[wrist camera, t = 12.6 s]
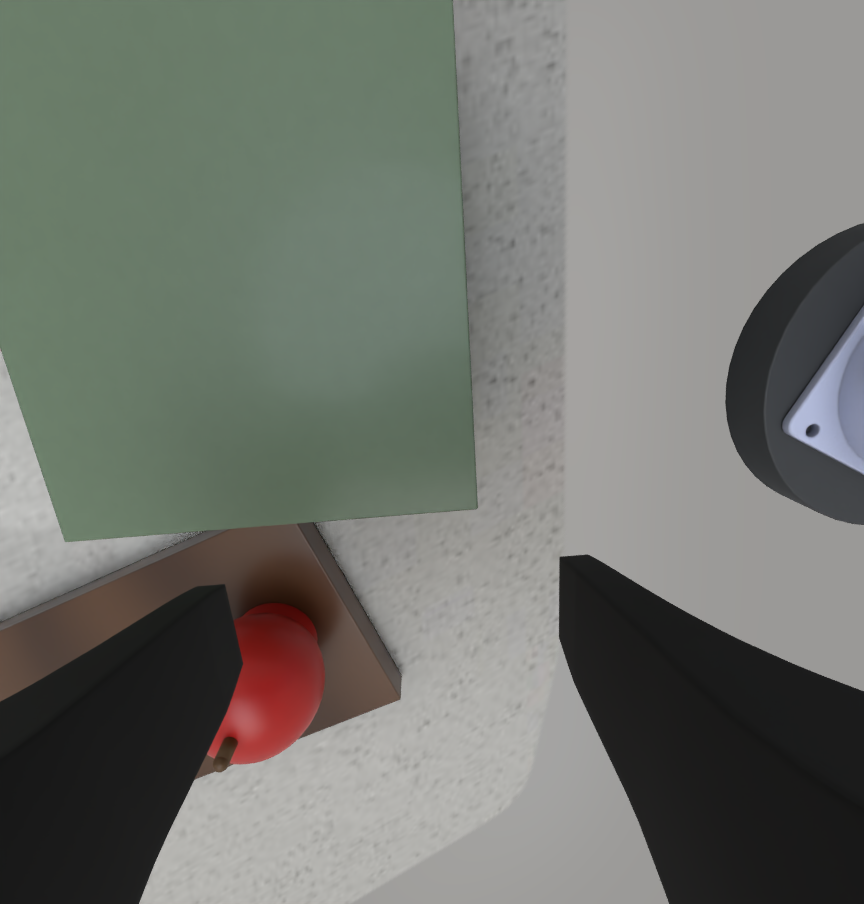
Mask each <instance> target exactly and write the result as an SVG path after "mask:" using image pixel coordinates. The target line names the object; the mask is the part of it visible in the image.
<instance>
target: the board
mask: <svg viewBox="0 0 864 904" xmlns="http://www.w3.org/2000/svg"><path fill="white" fill-rule="evenodd" d="M219 584H225V586H226V591H227V595H228V599H229V604H230V608H231V612H232V617H233V620H235V619H237V618H240V617H242V616H243V615H244V614H245V613H246V612H248V611H249V610H251V609H252V608H254V607H256V606H259V605H262V604H267V603H282V604H287V605H290V606H293V607H295V608H297V609H299V610H300V611H302V612H303V613H304V614H306V615H307V616H308V617H309V619H310V620H311V621H312V623H313V625H314V627H315V629H316V632H317V639H318V640H317V644H318V646H319V648H320V651H321V653H322V657H323V661H324V667H325V685H324V691H323V696H322V700H321V702H320V705H319V708H318V710H317V713H316V714H315V716H314V718H313V720H312V722H311V723H310V725H309V726H308V728H307V729H306V730H305V731H304V733H303V734H302V735H301V736H300V737H299V738H298V739H300V738H302V737H305V736H307V735H310V734H313V733H315V732H318V731H320V730H323V729H325V728H328V727H331V726H333V725H336V724H338V723H341V722H343V721H346V720H348V719H351V718H354V717H356V716H359V715H361V714H364V713H366V712H369V711H372V710H374V709H377V708H379V707H382V706H384V705H387V704H390V703H392V702H395V701H397V700H400V698H401V678H402V676H401V674H400V672H399V671H398V669H397V667H396V665H395V664H394V662H393V660H392V659H391V657H390V655H389V653H388V652H387V650H386V648H385V646H384V645H383V643H382V641H381V640H380V638H379V636H378V634H377V633H376V631H375V629H374V627H373V626H372V624H371V622H370V620H369V619H368V617H367V615H366V614H365V612H364V610H363V608H362V607H361V605H360V603H359V601H358V600H357V598H356V596H355V595H354V593H353V591H352V589H351V588H350V586H349V584H348V582H347V581H346V579H345V577H344V575H343V574H342V572H341V570H340V569H339V567H338V565H337V563H336V562H335V560H334V558H333V556H332V555H331V553H330V551H329V550H328V548H327V546H326V544H325V543H324V541H323V539H322V537H321V536H320V534H319V532H318V530H317V529H316V527H315V525H314V524H313V522H310V523H297V524H285V525H272V526H260V527H247V528H235V529H223V530H210V531H205V532H203V533H201V534H199V535H196V536H194V537H192V538H190V539H187V540H185V541H183V542H181V543H178V544H176V545H174V546H172V547H169V548H167V549H165V550H163V551H160V552H158V553H156V554H154V555H151V556H149V557H147V558H145V559H142V560H140V561H138V562H136V563H133V564H131V565H129V566H127V567H124V568H122V569H120V570H118V571H115V572H113V573H111V574H109V575H106V576H104V577H102V578H100V579H97V580H95V581H93V582H91V583H88V584H86V585H84V586H82V587H79V588H77V589H75V590H73V591H71V592H68V593H66V594H64V595H62V596H59V597H57V598H55V599H53V600H50V601H48V602H46V603H44V604H41V605H39V606H37V607H35V608H32V609H30V610H28V611H26V612H23V613H21V614H19V615H17V616H14V617H12V618H10V619H8V620H5V621H3V622H1V623H0V702H1V701H2V700H4V699H6V698H8V697H10V696H12V695H14V694H15V693H17V692H19V691H21V690H23V689H24V688H26V687H28V686H30V685H32V684H33V683H35V682H37V681H38V680H40V679H42V678H44V677H45V676H47V675H49V674H50V673H52V672H54V671H55V670H57V669H59V668H61V667H62V666H64V665H66V664H67V663H69V662H71V661H72V660H74V659H76V658H77V657H79V656H81V655H83V654H84V653H86V652H88V651H89V650H91V649H93V648H94V647H96V646H98V645H99V644H101V643H103V642H104V641H106V640H107V639H109V638H111V637H112V636H114V635H115V634H117V633H119V632H120V631H122V630H123V629H125V628H127V627H128V626H130V625H131V624H133V623H135V622H136V621H138V620H139V619H141V618H143V617H144V616H146V615H147V614H149V613H151V612H152V611H154V610H156V609H157V608H159V607H160V606H162V605H164V604H165V603H167V602H169V601H170V600H172V599H174V598H175V597H177V596H179V595H181V594H183V593H184V592H186V591H188V590H190V589H192V588H194V587H196V586H207V585H219ZM213 761H214V758H212V757H210V756H209V755H206V757H205V759H204V761H203V763H202V765H201V767H200V769H199V771H198V773H197V775H196V777H195V779H197V778H200V777H202V776H205V775H207V774H210V773H213V772H215V770H214V769H213ZM231 765H233V764H231V763H229V766H231ZM195 779H194V780H195Z"/></svg>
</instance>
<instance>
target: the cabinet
mask: <svg viewBox="0 0 864 904" xmlns="http://www.w3.org/2000/svg"><path fill="white" fill-rule="evenodd" d="M0 348H1V351H2V354H3V357H4V360H5V363H6V366H7V369H8V372H9V375H10V378H11V381H12V384H13V387H14V390H15V393H16V396H17V399H18V402H19V405H20V408H21V411H22V414H23V417H24V420H25V423H26V426H27V429H28V432H29V435H30V438H31V441H32V444H33V447H34V450H35V453H36V456H37V459H38V462H39V465H40V468H41V471H42V474H43V477H44V480H45V483H46V486H47V489H48V492H49V495H50V498H51V501H52V504H53V507H54V510H55V513H56V516H57V519H58V522H59V525H60V528H61V531H62V534H63V537H64V540H65V542H73V541H85V540H98V539H110V538H123V537H135V536H148V535H160V534H173V533H185V532H198V531H210V530H223V529H235V528H247V527H260V526H272V525H285V524H297V523H310V522H322V521H335V520H347V519H360V518H372V517H385V516H397V515H410V514H422V513H435V512H447V511H459V510H472V509H477V508H478V503H477V483H476V462H475V442H474V421H473V401H472V381H471V360H470V340H469V320H468V299H467V279H466V259H465V238H464V218H463V198H462V177H461V157H460V136H459V116H458V96H457V75H456V55H455V35H454V14H453V0H0Z"/></svg>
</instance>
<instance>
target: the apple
mask: <svg viewBox="0 0 864 904" xmlns="http://www.w3.org/2000/svg"><path fill="white" fill-rule="evenodd" d="M233 621H234V625H235V630H236V634H237V638H238V643H239V647H240V651H241V656H242V660H243V666H242V669H241V672H240V675H239V678H238V682H237V685H236V688H235V691H234V694H233V696H232V699H231V702H230V705H229V708H228V710H227V713H226V715H225V717H224V719H223V721H222V724H221V726H220V728H219V730H218V732H217V734H216V736H215V738H214V740H213V742H212V744H211V746H210V749H209V751H208V753H207V755H209V756H210V757H212V758H214V761H213V769H214V770H215V771H216V772H223V771H224V770H226V769H227V767H228V766H229V763H231V764H250V763H256V762H260V761H263V760H266V759H269V758H271V757H273V756H275V755H277V754H279V753H281V752H282V751H283V750H285V749H286V748H288V747H289V746H291V745H292V744H293V743H294V742H295V741H296V740H297V739H298V738H299V737H300V736H301V735H302V734H303V733H304V731H305V730H306V729H307V728H308V726H309V725H310V723H311V722H312V720H313V718H314V716H315V714H316V713H317V710H318V708H319V705H320V702H321V700H322V696H323V691H324V685H325V667H324V661H323V657H322V653H321V651H320V648H319V646H318V644H317V640H318V639H317V632H316V629H315V627H314V625H313V623H312V621H311V620H310V619H309V617H308V616H307V615H306V614H304V613H303V612H302V611H300V610H299V609H297V608H295V607H293V606H290V605H287V604H282V603H267V604H262V605H259V606H256V607H254V608H252V609H251V610H249V611H248V612H246V613H245V614H244V615H243V616H242V617H240V618H237V619H235V620H233Z"/></svg>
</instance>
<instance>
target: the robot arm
mask: <svg viewBox="0 0 864 904" xmlns="http://www.w3.org/2000/svg"><path fill="white" fill-rule="evenodd" d="M810 425H811V429H810V431H809V432H808V433H807V434H806V429H807V427H809V426H810ZM782 428H783V431H784V432H785V433H786V434H787V435H789V436H791V437H793V438H794V439H796V440H798V441H800V442H802V443H804V444H806V445H808V446H810V447H811V448H813V449H815V450H817V451H819V452H821V453H823V454H825V455H827V456H828V457H830V458H832V459H834V460H836V461H838V462H840V463H842V464H844V465H845V466H847V467H849V468H851V469H853V470H855V471H857V472H859V473H860V474H862V475H864V305H863V307H862V308H861V310H860V311H859V312H858V314H857V315H856V317H855V318H854V320H853V321H852V322H851V324H850V325H849V327H848V328H847V330H846V331H845V332H844V334H843V335H842V337H841V338H840V340H839V341H838V342H837V344H836V345H835V347H834V348H833V350H832V351H831V352H830V354H829V355H828V357H827V358H826V360H825V361H824V362H823V364H822V365H821V367H820V368H819V370H818V371H817V372H816V374H815V375H814V377H813V378H812V380H811V381H810V382H809V384H808V385H807V387H806V388H805V390H804V391H803V392H802V394H801V395H800V397H799V398H798V400H797V401H796V402H795V404H794V405H793V407H792V408H791V410H790V411H789V412H788V414H787V415H786V417H785V418H784V420H783V423H782ZM559 639H560V642H561V645H562V648H563V651H564V654H565V657H566V660H567V663H568V666H569V669H570V672H571V675H572V678H573V681H574V683H575V685H576V688H577V690H578V692H579V694H580V696H581V699H582V700H583V703H584V705H585V707H586V709H587V711H588V714H589V716H590V718H591V720H592V722H593V724H594V726H595V728H596V730H597V732H598V735H599V737H600V739H601V741H602V743H603V745H604V747H605V749H606V752H607V754H608V756H609V758H610V760H611V762H612V764H613V766H614V768H615V770H616V773H617V775H618V776H619V779H620V781H621V783H622V785H623V787H624V789H625V792H626V794H627V796H628V798H629V801H630V803H631V805H632V807H633V810H634V812H635V814H636V817H637V819H638V821H639V824H640V826H641V829H642V832H643V834H644V837H645V840H646V842H647V845H648V848H649V850H650V853H651V856H652V858H653V861H654V864H655V866H656V869H657V872H658V874H659V877H660V880H661V882H662V885H663V888H664V890H665V893H666V896H667V898H668V902H669V904H864V691H861V690H859V689H856V688H853V687H851V686H848V685H845V684H843V683H840V682H837V681H835V680H832V679H829V678H827V677H824V676H822V675H819V674H817V673H814V672H811V671H809V670H807V669H804V668H802V667H799V666H797V665H795V664H792V663H790V662H788V661H785V660H783V659H781V658H779V657H777V656H774V655H772V654H770V653H767V652H765V651H763V650H761V649H759V648H757V647H754V646H752V645H750V644H748V643H745V642H743V641H741V640H739V639H737V638H735V637H733V636H731V635H729V634H727V633H725V632H723V631H721V630H719V629H717V628H715V627H713V626H711V625H710V624H707V623H706V622H704V621H702V620H700V619H698V618H696V617H694V616H692V615H690V614H689V613H687V612H685V611H683V610H682V609H680V608H678V607H676V606H674V605H673V604H671V603H669V602H667V601H666V600H664V599H662V598H660V597H659V596H657V595H655V594H654V593H652V592H650V591H649V590H647V589H645V588H643V587H642V586H640V585H639V584H637V583H635V582H634V581H632V580H630V579H629V578H627V577H626V576H624V575H622V574H620V573H619V572H617V571H616V570H614V569H612V568H611V567H609V566H607V565H606V564H604V563H602V562H601V561H599V560H597V559H595V558H594V557H592V556H590V555H578V556H565V557H560V576H559ZM242 666H243V660H242V656H241V651H240V647H239V643H238V638H237V634H236V630H235V625H234V621H233V617H232V612H231V608H230V604H229V599H228V595H227V591H226V586H225V584H219V585H207V586H196V587H194V588H192V589H190V590H188V591H186V592H184V593H183V594H181V595H179V596H177V597H175V598H174V599H172V600H170V601H169V602H167V603H165V604H164V605H162V606H160V607H159V608H157V609H156V610H154V611H152V612H151V613H149V614H147V615H146V616H144V617H143V618H141V619H139V620H138V621H136V622H135V623H133V624H131V625H130V626H128V627H127V628H125V629H123V630H122V631H120V632H119V633H117V634H115V635H114V636H112V637H111V638H109V639H107V640H106V641H104V642H103V643H101V644H99V645H98V646H96V647H94V648H93V649H91V650H89V651H88V652H86V653H84V654H83V655H81V656H79V657H77V658H76V659H74V660H72V661H71V662H69V663H67V664H66V665H64V666H62V667H61V668H59V669H57V670H55V671H54V672H52V673H50V674H49V675H47V676H45V677H44V678H42V679H40V680H38V681H37V682H35V683H33V684H32V685H30V686H28V687H26V688H24V689H23V690H21V691H19V692H17V693H15V694H14V695H12V696H10V697H8V698H6V699H4V700H2V701H1V702H0V904H139V902H140V899H141V897H142V894H143V892H144V889H145V886H146V884H147V881H148V879H149V876H150V874H151V871H152V869H153V866H154V864H155V861H156V859H157V857H158V855H159V852H160V850H161V848H162V846H163V844H164V841H165V839H166V837H167V835H168V832H169V830H170V828H171V826H172V824H173V822H174V820H175V818H176V816H177V814H178V812H179V810H180V808H181V806H182V804H183V802H184V800H185V798H186V796H187V794H188V792H189V789H190V787H191V785H192V783H193V781H194V779H195V777H196V775H197V773H198V771H199V769H200V767H201V765H202V763H203V761H204V759H205V757H206V755H207V753H208V751H209V749H210V746H211V744H212V742H213V740H214V738H215V736H216V734H217V732H218V730H219V728H220V726H221V724H222V721H223V719H224V717H225V715H226V713H227V710H228V708H229V705H230V702H231V699H232V696H233V694H234V691H235V688H236V685H237V682H238V678H239V675H240V672H241V669H242Z"/></svg>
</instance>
